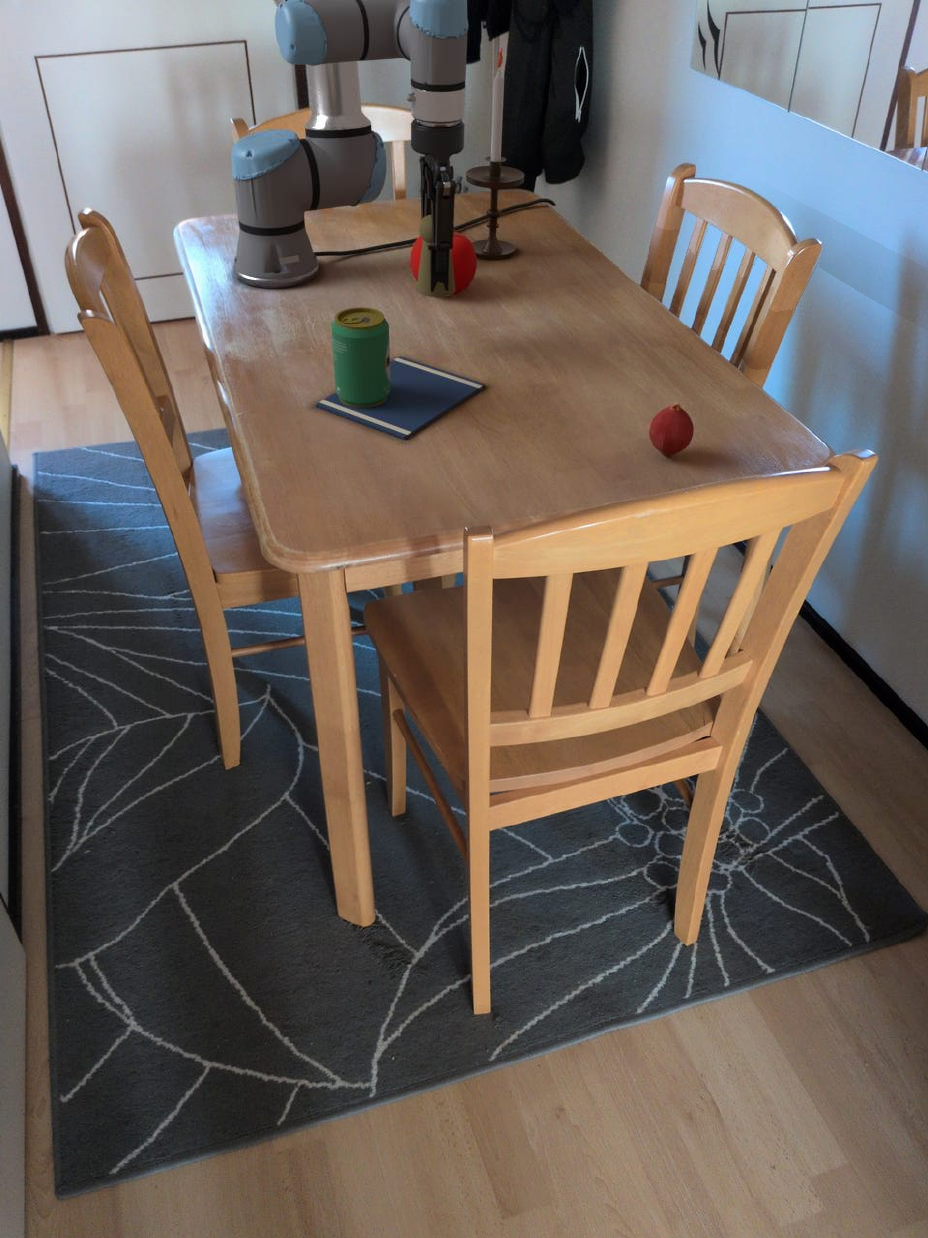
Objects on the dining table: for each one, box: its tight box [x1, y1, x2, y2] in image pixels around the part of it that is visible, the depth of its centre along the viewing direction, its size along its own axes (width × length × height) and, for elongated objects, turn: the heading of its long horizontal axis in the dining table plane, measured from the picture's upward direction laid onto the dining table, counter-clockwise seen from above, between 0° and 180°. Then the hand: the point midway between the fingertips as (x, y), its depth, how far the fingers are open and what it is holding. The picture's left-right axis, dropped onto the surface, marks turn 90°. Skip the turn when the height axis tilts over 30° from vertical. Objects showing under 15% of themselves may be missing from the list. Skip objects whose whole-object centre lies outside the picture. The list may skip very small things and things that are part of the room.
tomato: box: [409, 229, 478, 296], centre depth 175 cm, size 12×12×10 cm
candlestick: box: [465, 47, 525, 261], centre depth 183 cm, size 11×11×35 cm
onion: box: [648, 401, 695, 458], centre depth 132 cm, size 6×6×8 cm
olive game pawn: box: [416, 215, 455, 298], centre depth 150 cm, size 6×6×11 cm
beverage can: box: [330, 306, 391, 408], centre depth 141 cm, size 8×8×12 cm
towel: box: [315, 355, 486, 441], centre depth 146 cm, size 20×16×1 cm
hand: (436, 284), depth 153 cm, fingers closed on olive game pawn, 4 cm apart
